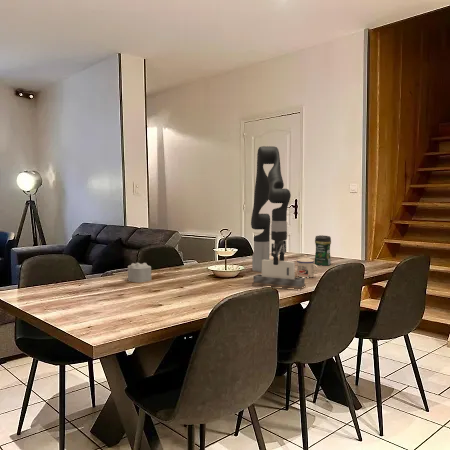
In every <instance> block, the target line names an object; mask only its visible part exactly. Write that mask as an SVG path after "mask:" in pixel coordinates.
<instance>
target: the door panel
mask: <svg viewBox="0 0 450 450" xmlns="http://www.w3.org/2000/svg"><path fill="white" fill-rule="evenodd" d="M295 263H296V262H295V261H293V260H292V261H290V260H289V261H288V260H284V261H279V260H278V265H274V264H273V259H269V260H262V272H261V275H262V277H272V278H284V279H295V277H296V275H295V273H296V272H295V270H296V267H295V266H296V264H295Z"/></svg>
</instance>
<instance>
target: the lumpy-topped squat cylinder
mask: <svg viewBox="0 0 450 450" xmlns="http://www.w3.org/2000/svg"><path fill="white" fill-rule="evenodd" d="M127 280H128V281H129V282H130V283H131V282H133V283H144V282H145V283H146V282H151V281H152V266H151V265H148V264H147V262H143V263H140V262H135V263H134V262H132V263H131V264H129V265H128V266H127Z"/></svg>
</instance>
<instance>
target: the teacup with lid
mask: <svg viewBox="0 0 450 450" xmlns="http://www.w3.org/2000/svg"><path fill="white" fill-rule="evenodd" d="M296 262H297V267H296V269H297V270H296V271H297V274H296V275H297V277H298V276H299V277H313V278H314V274H315V275H316V274H317V273H318V272H319V267H318V266H319V265H316V264H315V259H312V258H310V257H308V255H306V254H305V255H303V257H300V258H298V259H297V261H296ZM314 268H315V271H314ZM299 277H298V278H299Z"/></svg>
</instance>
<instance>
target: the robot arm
mask: <svg viewBox="0 0 450 450" xmlns="http://www.w3.org/2000/svg"><path fill="white" fill-rule="evenodd" d="M256 156H257V157H256V159H257V160H256V177H255V184H254V185H255V186H254V196H253V207H252V212H251V220H250V227H251V228H252V230H256V231H258V230H263V231H262V232H261V233H260V234H256V235H254V236H253V254H252V255H251V256H252V258H251V261H252V262H251V263H252V266H251V268H252V269H251V270H252V271H253V272H259V273H260V272H261V273H262V260H270V254H271V257H272V258H273V259H272V260H273V264H274V265H278V261H285V255H286V253H287V239H288V223H287V219H288V218H287V215H288V214H287V213H288V208H289V207H288V206H289V203H290V202H291V201H290V200H291V196H292V195H291V191H290V190H289V189H288V188H284V186H285V184H284V180H283V175H282V168H281V157H280V151H279V148H278V147H277V146H272V145H271V146H270V145H269V146H268V145H267V146H265V145H263V146H259V147H258V149H257V154H256ZM264 165H272V167H271V168H270V170H269V171H268V174H267V173H266V171H265V169H264ZM268 201H269V202H270V203H271V204H281V205H280V206H279V207H275V208H273V209H272V211H271V216H270V214H269V213H260V212H261V210H262V209H263V206H264V205H265V204H266V203H267V202H268ZM270 233H271V234H270ZM270 238H271V239H270ZM270 240H272V241H274V242H273V243H271V251H270ZM270 252H271V253H270Z"/></svg>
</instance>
